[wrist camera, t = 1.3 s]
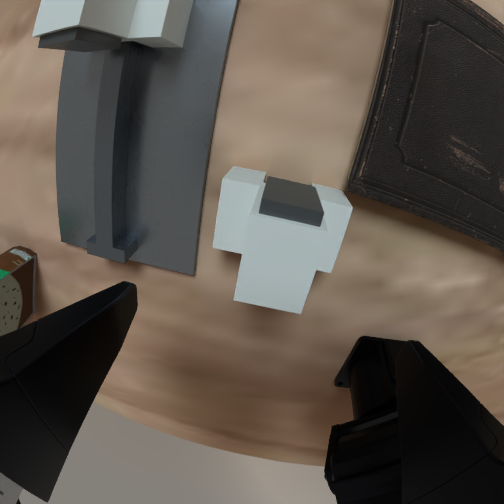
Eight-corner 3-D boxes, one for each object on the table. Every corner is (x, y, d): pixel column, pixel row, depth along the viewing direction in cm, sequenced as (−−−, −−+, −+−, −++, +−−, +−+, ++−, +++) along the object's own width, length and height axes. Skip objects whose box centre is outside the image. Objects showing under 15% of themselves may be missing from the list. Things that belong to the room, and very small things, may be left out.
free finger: (324, 247, 19) (340, 321, 13) (224, 225, 19) (191, 290, 13) (344, 181, 17) (379, 229, 11) (235, 156, 17) (201, 189, 11)
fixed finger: (180, 56, 14) (113, 31, 7) (89, 59, 14) (7, 55, 7) (195, -9, 12) (142, -62, 5) (102, 1, 12) (28, -24, 5)
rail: (195, 271, 21) (184, 291, 19) (65, 238, 21) (47, 252, 19) (249, -39, 11) (243, -57, 9) (89, -23, 11) (69, -32, 9)
